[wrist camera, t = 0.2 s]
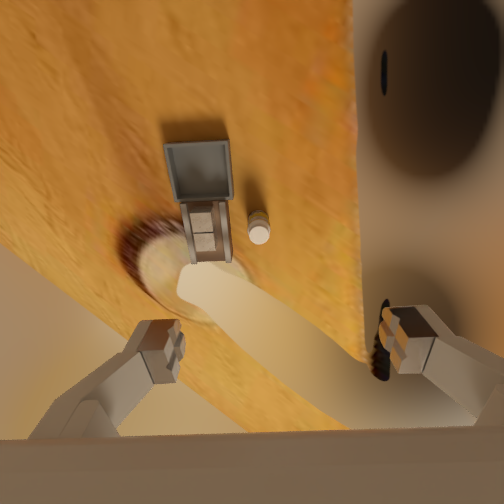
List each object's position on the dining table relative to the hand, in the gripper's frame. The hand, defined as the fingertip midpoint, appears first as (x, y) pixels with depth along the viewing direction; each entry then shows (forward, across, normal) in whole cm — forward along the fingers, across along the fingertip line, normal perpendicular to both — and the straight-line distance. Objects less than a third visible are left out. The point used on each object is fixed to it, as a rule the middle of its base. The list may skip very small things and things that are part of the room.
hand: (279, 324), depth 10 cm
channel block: (+46, +12, +14) cm, 50 cm away
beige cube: (+42, +12, +10) cm, 45 cm away
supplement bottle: (+47, +1, +14) cm, 49 cm away
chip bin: (+46, +12, +2) cm, 48 cm away
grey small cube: (+42, +12, +15) cm, 47 cm away
